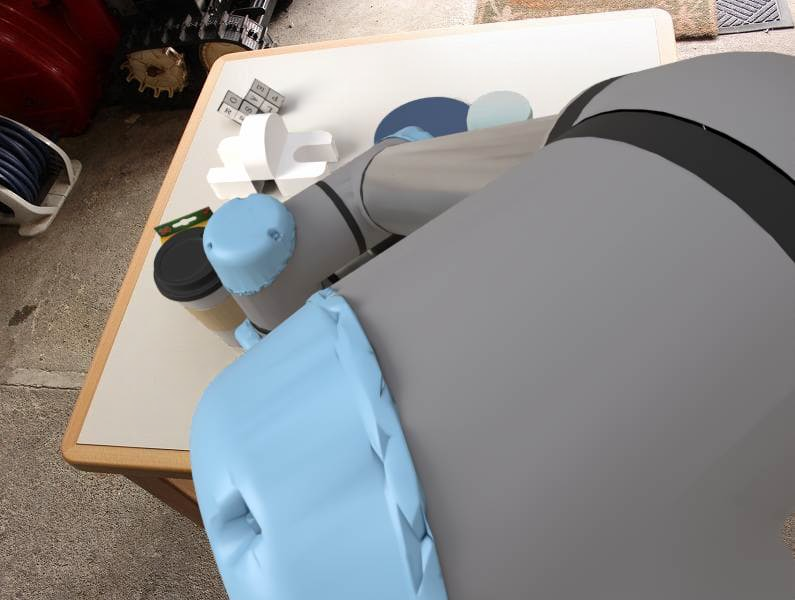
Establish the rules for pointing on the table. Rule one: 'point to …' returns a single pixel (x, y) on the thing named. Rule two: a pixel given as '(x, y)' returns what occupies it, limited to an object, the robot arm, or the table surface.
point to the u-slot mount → (271, 158)
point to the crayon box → (168, 230)
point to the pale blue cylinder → (498, 110)
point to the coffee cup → (197, 284)
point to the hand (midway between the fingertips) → (524, 158)
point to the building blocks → (250, 102)
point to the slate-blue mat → (426, 117)
